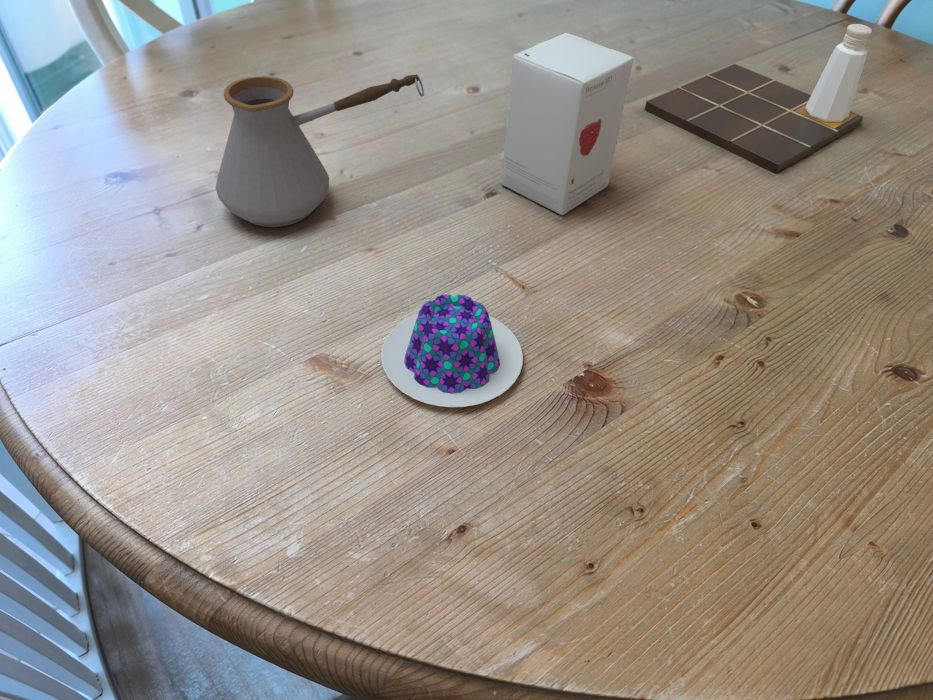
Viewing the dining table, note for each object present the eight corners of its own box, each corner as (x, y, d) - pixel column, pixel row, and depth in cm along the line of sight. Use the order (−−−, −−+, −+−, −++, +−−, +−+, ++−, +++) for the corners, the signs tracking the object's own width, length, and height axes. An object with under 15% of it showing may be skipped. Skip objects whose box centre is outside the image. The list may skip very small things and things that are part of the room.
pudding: (512, 424, 59) (518, 378, 55) (364, 400, 60) (361, 354, 57) (529, 324, 68) (535, 278, 64) (400, 305, 69) (399, 259, 65)
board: (860, 125, 98) (864, 115, 97) (775, 173, 88) (779, 163, 88) (732, 71, 109) (734, 62, 108) (644, 109, 99) (646, 100, 98)
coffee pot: (208, 236, 75) (174, 93, 65) (234, 175, 83) (207, 40, 73) (421, 243, 76) (421, 103, 65) (426, 182, 84) (426, 49, 73)
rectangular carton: (562, 218, 80) (583, 83, 70) (498, 185, 84) (509, 53, 74) (610, 186, 85) (637, 55, 74) (548, 157, 89) (565, 29, 79)
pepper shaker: (824, 126, 95) (860, 38, 87) (795, 107, 98) (827, 21, 91) (857, 119, 96) (894, 33, 89) (827, 101, 100) (860, 16, 92)
